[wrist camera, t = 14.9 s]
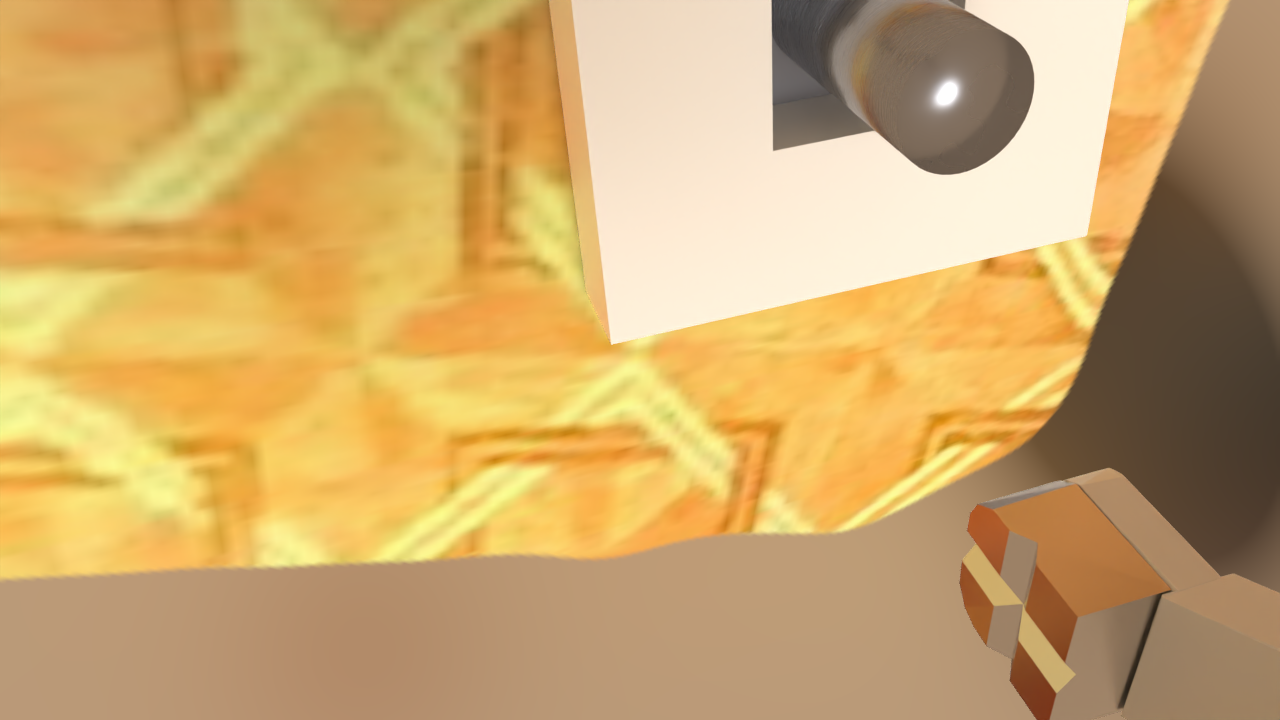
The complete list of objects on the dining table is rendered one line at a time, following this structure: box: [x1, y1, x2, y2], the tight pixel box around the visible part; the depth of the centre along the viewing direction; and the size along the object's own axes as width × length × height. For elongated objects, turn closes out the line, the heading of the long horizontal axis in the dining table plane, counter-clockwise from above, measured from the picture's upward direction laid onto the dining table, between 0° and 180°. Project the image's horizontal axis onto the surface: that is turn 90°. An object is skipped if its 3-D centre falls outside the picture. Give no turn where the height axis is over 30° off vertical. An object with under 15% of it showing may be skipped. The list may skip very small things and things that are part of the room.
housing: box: [549, 0, 1129, 345], centre depth 39 cm, size 20×20×4 cm
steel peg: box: [771, 0, 1034, 175], centre depth 36 cm, size 4×4×10 cm
